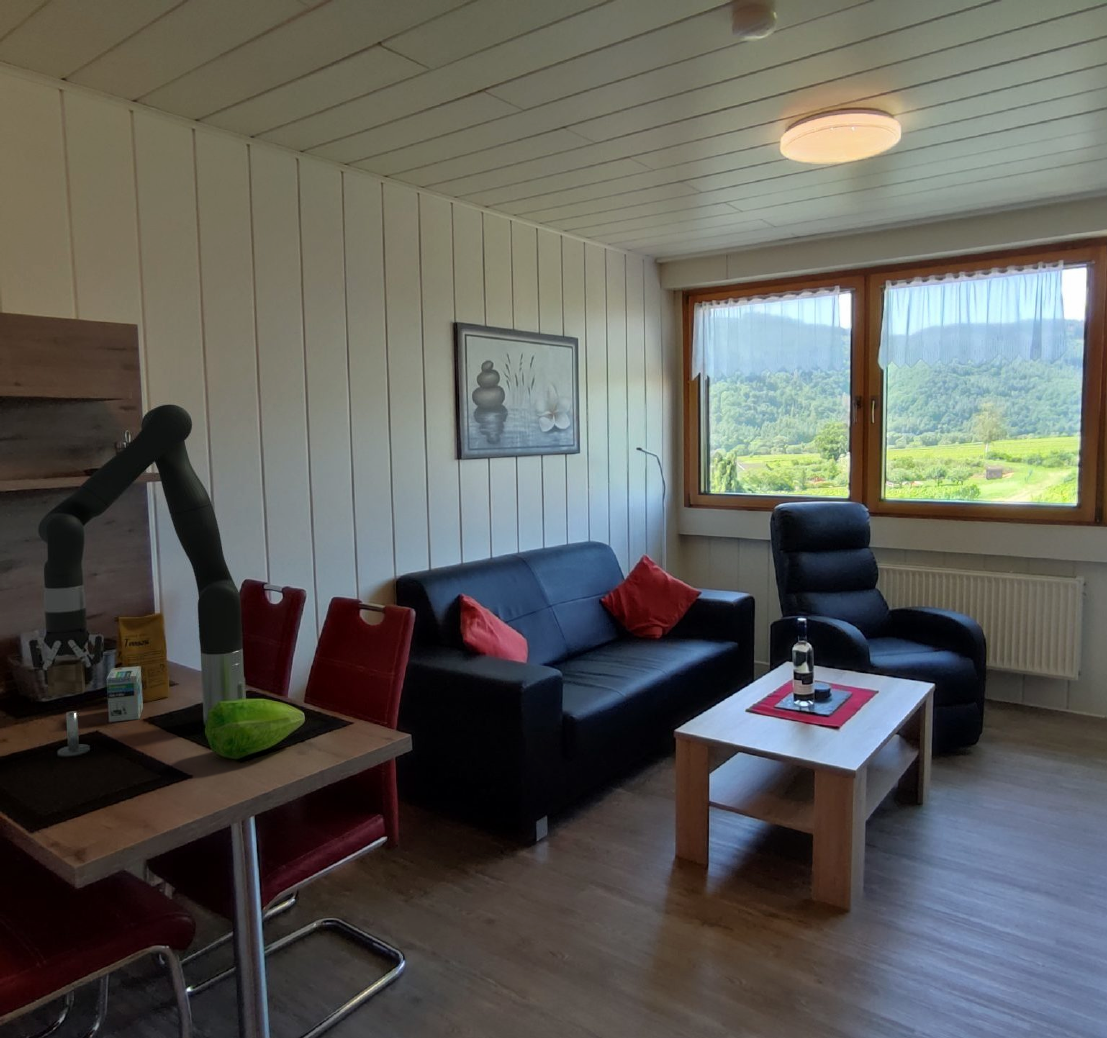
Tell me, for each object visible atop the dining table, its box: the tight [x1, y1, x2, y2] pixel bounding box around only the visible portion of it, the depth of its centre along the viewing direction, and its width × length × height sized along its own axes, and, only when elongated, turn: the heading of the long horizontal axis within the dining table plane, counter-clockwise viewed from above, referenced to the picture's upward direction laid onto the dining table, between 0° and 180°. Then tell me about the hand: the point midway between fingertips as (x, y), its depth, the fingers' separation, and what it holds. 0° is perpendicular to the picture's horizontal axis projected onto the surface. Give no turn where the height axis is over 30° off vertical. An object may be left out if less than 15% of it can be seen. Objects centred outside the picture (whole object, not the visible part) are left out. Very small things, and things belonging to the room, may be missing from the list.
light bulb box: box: [106, 666, 144, 723], centre depth 203 cm, size 11×7×11 cm, turn 22°
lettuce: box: [204, 698, 306, 760], centre depth 176 cm, size 14×20×12 cm
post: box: [57, 710, 91, 758], centre depth 178 cm, size 6×6×9 cm
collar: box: [47, 658, 92, 697], centre depth 177 cm, size 6×6×6 cm
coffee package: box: [114, 612, 170, 703], centre depth 216 cm, size 10×12×22 cm
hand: (69, 684), depth 177 cm, fingers closed on collar, 6 cm apart
